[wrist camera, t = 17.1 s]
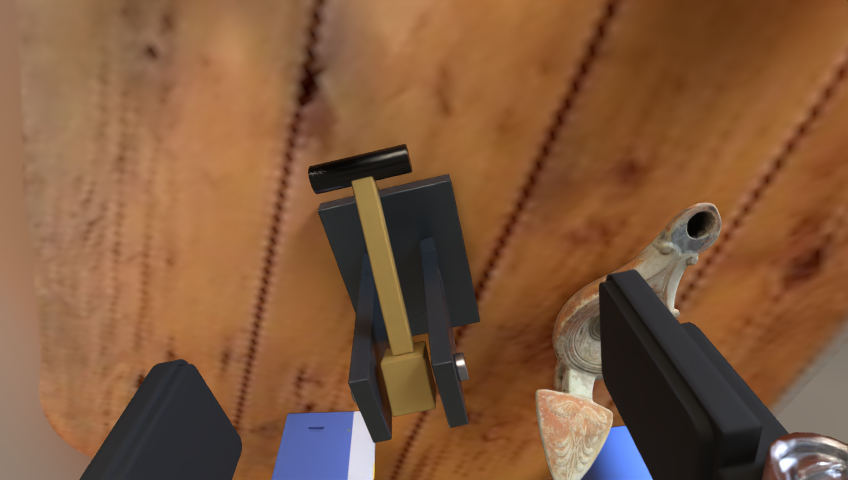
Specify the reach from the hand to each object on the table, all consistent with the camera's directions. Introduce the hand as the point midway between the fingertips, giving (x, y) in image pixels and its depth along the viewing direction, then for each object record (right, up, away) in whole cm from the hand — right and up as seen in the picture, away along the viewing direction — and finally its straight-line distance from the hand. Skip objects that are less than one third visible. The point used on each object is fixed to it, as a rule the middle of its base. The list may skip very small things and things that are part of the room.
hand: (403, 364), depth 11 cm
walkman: (-8, -13, +31) cm, 35 cm away
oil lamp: (+15, -2, +26) cm, 30 cm away
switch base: (-1, +1, +23) cm, 24 cm away
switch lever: (-1, +1, +14) cm, 14 cm away
